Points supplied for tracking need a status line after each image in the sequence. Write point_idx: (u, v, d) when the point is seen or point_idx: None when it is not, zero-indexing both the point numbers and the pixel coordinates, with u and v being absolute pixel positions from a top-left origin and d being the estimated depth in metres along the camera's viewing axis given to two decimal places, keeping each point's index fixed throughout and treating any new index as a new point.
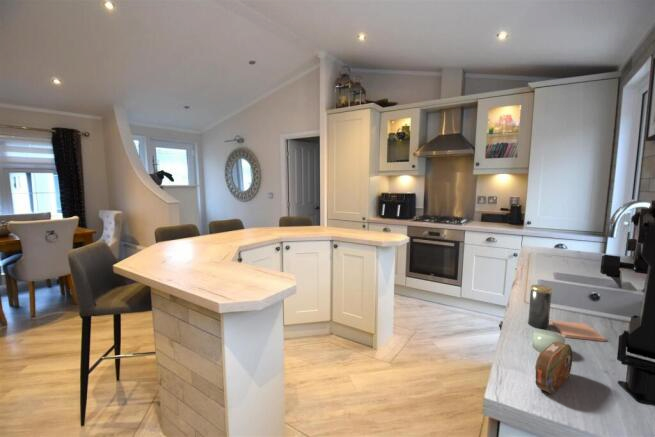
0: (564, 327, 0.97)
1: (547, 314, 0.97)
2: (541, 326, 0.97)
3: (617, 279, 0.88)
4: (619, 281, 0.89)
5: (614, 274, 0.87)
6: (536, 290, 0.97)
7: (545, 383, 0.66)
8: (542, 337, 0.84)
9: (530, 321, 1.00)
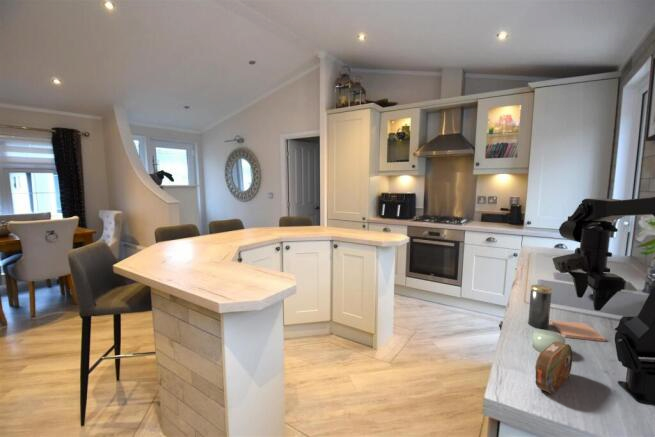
0: (564, 327, 0.97)
1: (547, 314, 0.97)
2: (541, 326, 0.97)
3: None
4: None
5: None
6: (536, 290, 0.97)
7: (545, 383, 0.66)
8: (542, 337, 0.84)
9: (530, 321, 1.00)
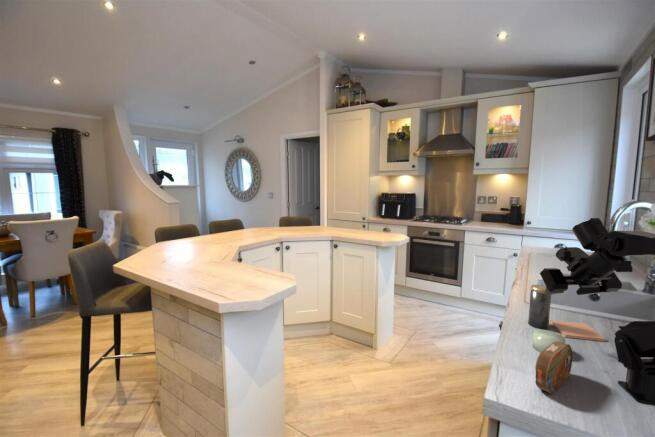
0: (564, 327, 0.97)
1: (547, 314, 0.97)
2: (541, 326, 0.97)
3: (558, 293, 0.84)
4: (557, 293, 0.85)
5: (561, 291, 0.82)
6: (536, 290, 0.97)
7: (545, 383, 0.66)
8: (542, 337, 0.84)
9: (530, 321, 1.00)
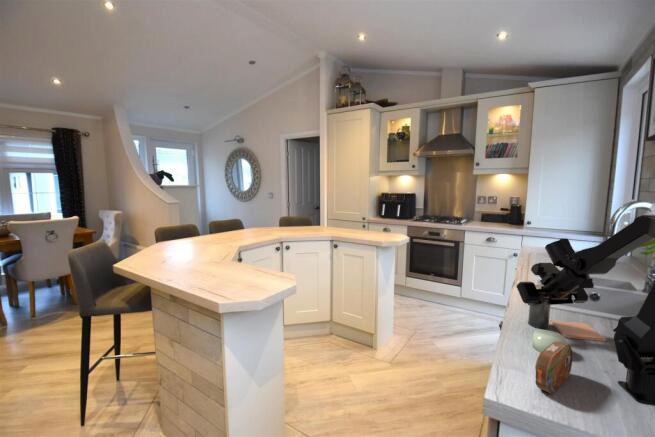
0: (564, 327, 0.97)
1: (547, 314, 0.97)
2: (541, 326, 0.97)
3: None
4: None
5: (534, 302, 0.93)
6: None
7: (545, 383, 0.66)
8: (542, 337, 0.84)
9: (530, 321, 1.00)
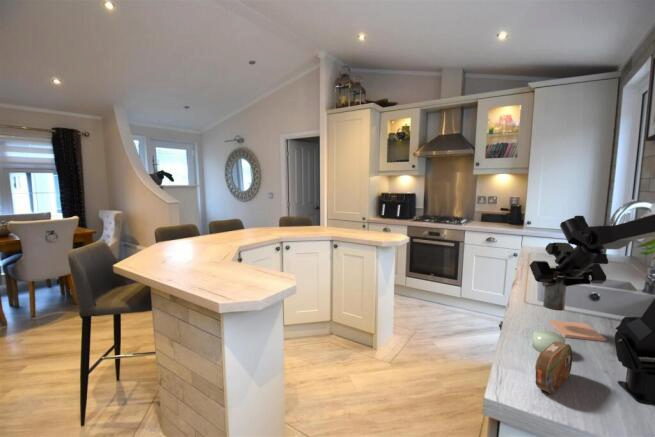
0: (564, 327, 0.97)
1: (562, 295, 0.95)
2: (556, 307, 0.95)
3: (551, 283, 0.93)
4: (551, 284, 0.94)
5: (547, 281, 0.91)
6: None
7: (545, 383, 0.66)
8: (542, 337, 0.84)
9: (545, 302, 0.98)
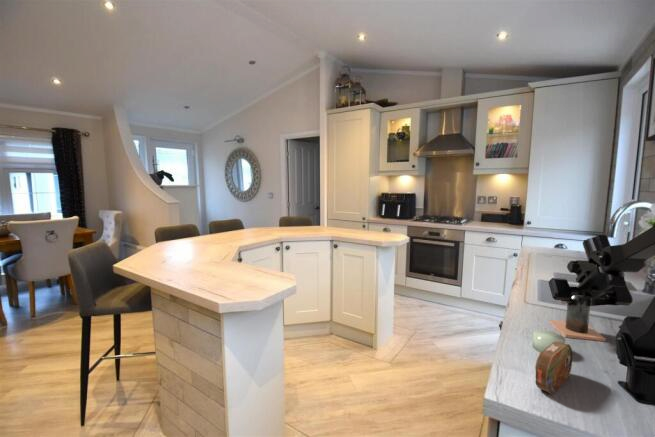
0: (564, 327, 0.97)
1: (585, 317, 0.93)
2: (578, 329, 0.93)
3: (568, 302, 0.92)
4: (568, 302, 0.93)
5: (565, 299, 0.90)
6: None
7: (545, 383, 0.66)
8: (542, 337, 0.84)
9: (566, 324, 0.96)
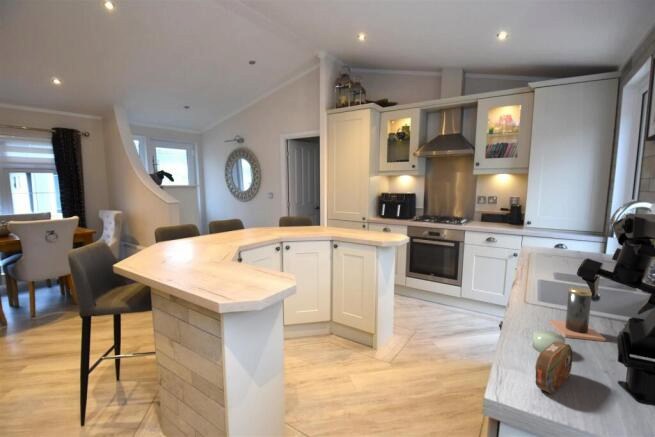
0: (564, 327, 0.97)
1: (585, 318, 0.93)
2: (578, 330, 0.93)
3: (591, 285, 0.84)
4: (593, 288, 0.84)
5: (589, 278, 0.83)
6: (573, 292, 0.94)
7: (545, 383, 0.66)
8: (542, 337, 0.84)
9: (566, 324, 0.96)
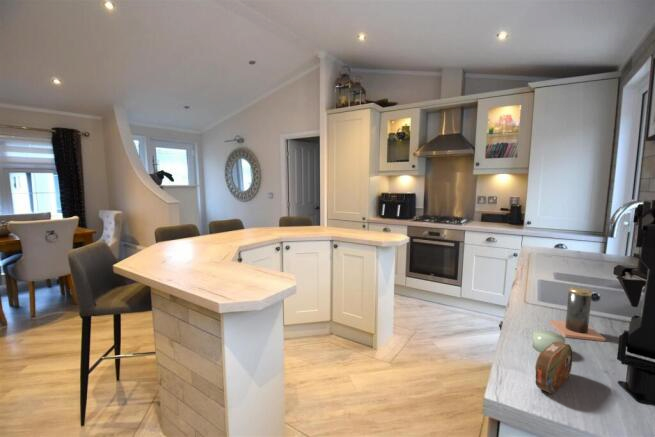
0: (564, 327, 0.97)
1: (585, 318, 0.93)
2: (578, 330, 0.93)
3: (622, 284, 0.83)
4: (625, 288, 0.82)
5: (619, 274, 0.83)
6: (573, 292, 0.94)
7: (545, 383, 0.66)
8: (542, 337, 0.84)
9: (566, 324, 0.96)
